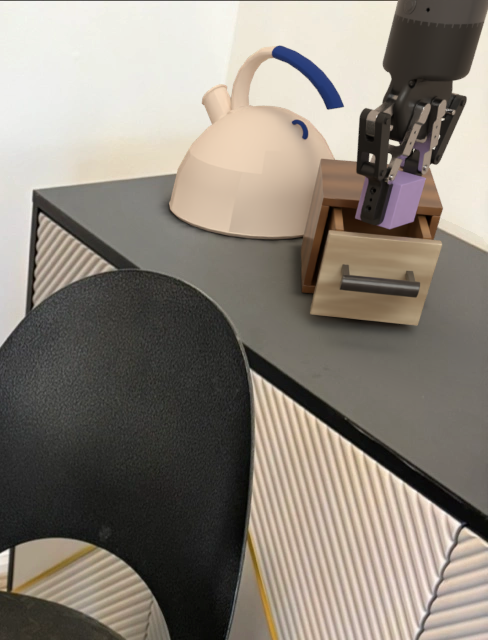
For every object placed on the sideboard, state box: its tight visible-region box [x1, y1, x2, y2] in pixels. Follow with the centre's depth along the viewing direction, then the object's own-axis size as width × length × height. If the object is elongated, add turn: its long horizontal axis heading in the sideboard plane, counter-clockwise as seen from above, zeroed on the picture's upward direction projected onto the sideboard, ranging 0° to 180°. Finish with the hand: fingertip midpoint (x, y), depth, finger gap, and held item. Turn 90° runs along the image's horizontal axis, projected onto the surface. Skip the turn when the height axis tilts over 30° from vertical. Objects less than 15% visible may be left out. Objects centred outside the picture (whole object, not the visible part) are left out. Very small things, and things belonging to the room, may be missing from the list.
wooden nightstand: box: [300, 159, 444, 295], centre depth 120 cm, size 15×12×10 cm
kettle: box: [168, 45, 345, 240], centre depth 132 cm, size 20×21×18 cm
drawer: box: [309, 206, 443, 326], centre depth 111 cm, size 18×10×8 cm, turn 167°
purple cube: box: [355, 170, 426, 229], centre depth 107 cm, size 4×4×4 cm
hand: (385, 217), depth 108 cm, fingers closed on purple cube, 4 cm apart
